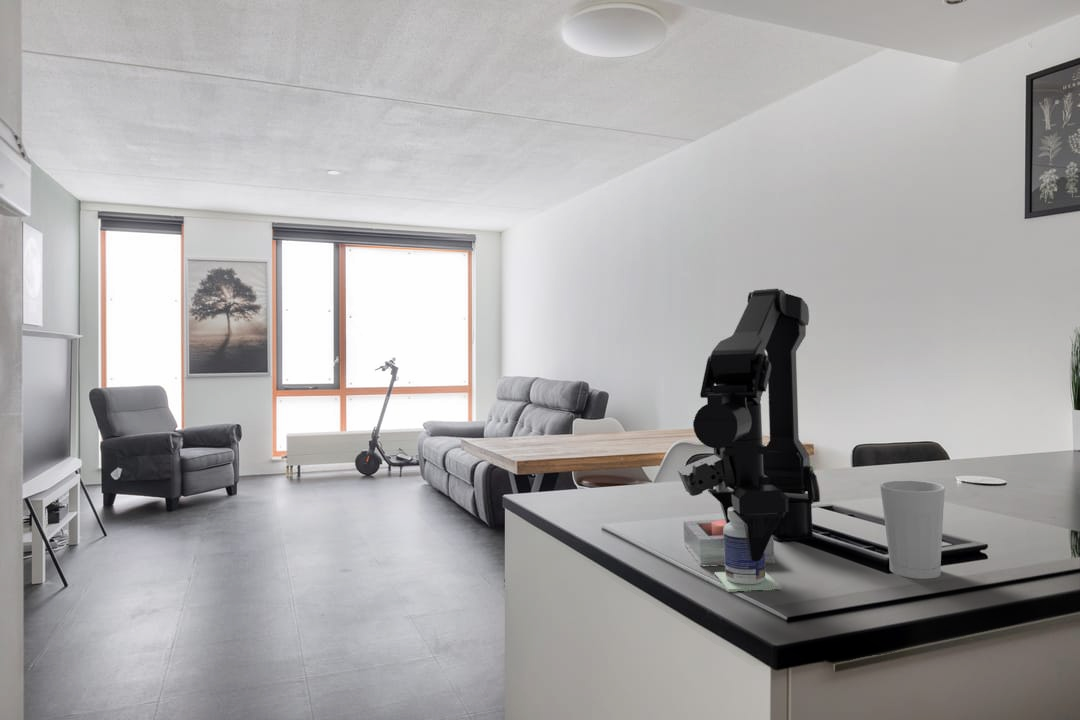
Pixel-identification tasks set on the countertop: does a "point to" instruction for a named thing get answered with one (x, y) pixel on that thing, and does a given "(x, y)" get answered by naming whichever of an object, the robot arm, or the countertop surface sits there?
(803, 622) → the countertop surface
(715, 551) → the frame
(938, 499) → the cup
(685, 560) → the countertop surface
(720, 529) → the plunger
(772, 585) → the pad
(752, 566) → the pill bottle
